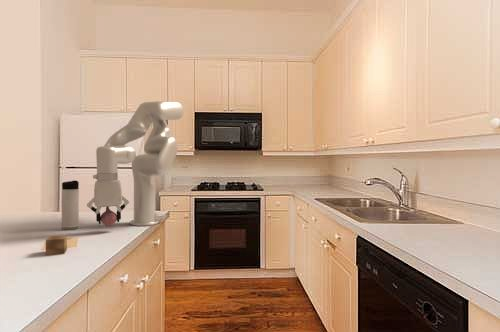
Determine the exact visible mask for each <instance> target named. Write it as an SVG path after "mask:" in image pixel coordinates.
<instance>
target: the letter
mask: <svg viewBox="0 0 500 332" xmlns="http://www.w3.org/2000/svg"><path fill="white" fill-rule="evenodd" d="M78 240H79V238H78V236H75V237H67V249H68V248H77V247H78ZM43 250H45V251H46V240H45V242H44V244H43V246H42V248H41V251H43Z"/></svg>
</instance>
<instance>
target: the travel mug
mask: <svg viewBox="0 0 500 332" xmlns="http://www.w3.org/2000/svg"><path fill="white" fill-rule="evenodd" d="M79 183H80V182H79V181H78V180H70V181H64V182H61V230H63V231H73V230H78V229H79V226H80V225H79V222H80V221H79V220H80V219H79V217H80V215H79V211H80V210H79V209H80V206H79V205H80V204H79V201H80V200H79V198H80V191H79V189H80V188H79Z"/></svg>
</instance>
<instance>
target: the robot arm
mask: <svg viewBox="0 0 500 332" xmlns="http://www.w3.org/2000/svg"><path fill="white" fill-rule="evenodd" d="M183 115H184V107H183V105H182V104H181V103H180V102H178V101H160V100H159V101H157V100H156V101H144V102H142V103H141V104H139V106H138V107H137V108H136V110H135V112H134V113H133V115H132V116H131V117H130V119H129V121H128V123H127V124H126V125H124V126H123V127H121V128H120V129H119V130H117V131H115V133H113V134H112V135H110V136H109V138H108V139H107V141H106V142H105V144H104V146H98V147H97V148H96V149H95V150H96V151H95V153H96V154H95V156H96V157H95V158H96V174H94V175H92V178H93V179H94V180H96V181H94V189H93V193H94V194H93V197H92V199H91V200H89V202H88V203H86V206H87V208H89V209H90V210H91V211H93V213H95V215H96V222H98V225H101V223H102V222H101V209H102V208H106V207H109V208H110V207H115V208H116V209H117V210H116V215H117V220H116V222H117V223H120V220H121V219H122V211H123V210H124V209H125V208H126V207H127V205H128V204H129V203H130V201H129V200H128V199H127V198H125V196H123V194H122V193H123V190H122V184H121V180H119V178H118V177H119V175H118V164H119V165H120V164H121V165H129V164H131V170H132V177H133V219H132V220H130V221H129V225H131V226H137V227H138V226H139V227H141V226H142V227H143V226H144V227H146V226H154V225H158V224H159V222H160V219H166V218H167V215H166V213H165V214H163V213H162V214H160V213H157V212H156V194H157V193H156V191H157V189H156V188H157V187H156V181H155V178H154V177H153V176H155V177H156V176H157V177H160V176H161V177H162V176H165V175H166V174H168V172H169V171H170V169H171V167H172V165H173V163H174V160H175V158H176V156H177V153H178V149H179V147H178V141H177V139H176V138H175V137H173V136H171V135H170V134H171V130H170V127H169V125H168V124H167V121H175V120H180V119H181V118H182V117H183ZM151 125H152V129H151V131H150V133H149V136H148V137H147V138H146V141H145V143H144V145H143V151H144V153H145V154H144V153H143V154H138V155H137V153H136V151H135V149H134V148H133V147H131V146H128V145H127V144H129V143H131V142H134V141H136V140H139V139H141V138H143V137H144V136H145V135H146V134H147V132H148V130H149V128H151V127H150V126H151ZM93 204H94V206H93Z"/></svg>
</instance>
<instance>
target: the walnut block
mask: <svg viewBox="0 0 500 332" xmlns="http://www.w3.org/2000/svg"><path fill="white" fill-rule="evenodd" d="M67 238H68V235H51V236H48V237H47V238H46V239H45V241H46V250H45V256H56V255H65V254H66V252H67V249H68V248H67Z"/></svg>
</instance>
